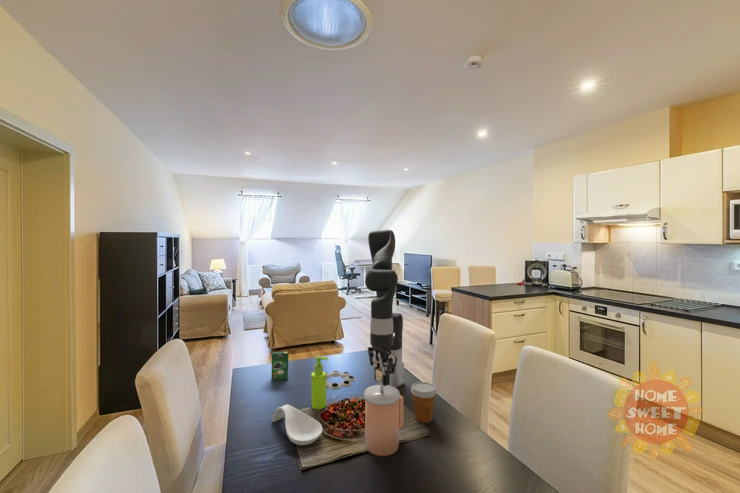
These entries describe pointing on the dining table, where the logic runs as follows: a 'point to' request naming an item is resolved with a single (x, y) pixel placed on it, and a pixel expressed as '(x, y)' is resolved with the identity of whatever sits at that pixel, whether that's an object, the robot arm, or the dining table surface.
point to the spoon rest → (298, 425)
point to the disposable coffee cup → (423, 401)
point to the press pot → (383, 419)
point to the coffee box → (279, 366)
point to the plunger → (380, 378)
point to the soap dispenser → (318, 385)
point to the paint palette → (342, 375)
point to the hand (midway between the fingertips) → (381, 382)
